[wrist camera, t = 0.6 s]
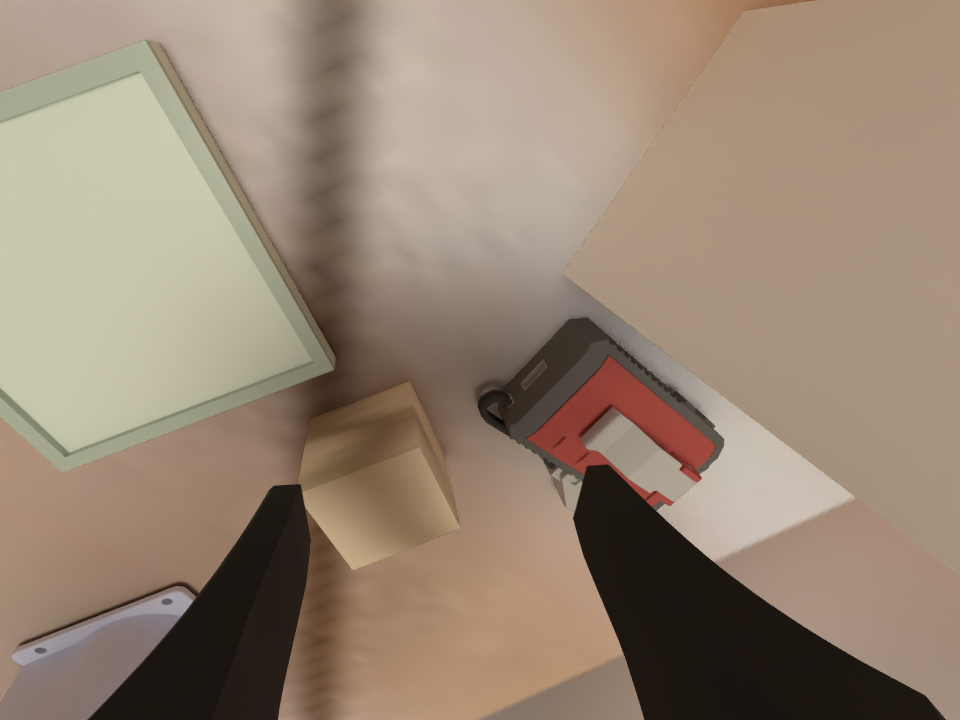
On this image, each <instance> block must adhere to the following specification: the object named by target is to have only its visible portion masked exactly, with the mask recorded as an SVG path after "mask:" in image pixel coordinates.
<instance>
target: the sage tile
mask: <svg viewBox="0 0 960 720" xmlns="http://www.w3.org/2000/svg"><path fill="white" fill-rule="evenodd" d="M335 360H336V357H335V355H334V353H333V352H332V350H331V348H330V346H329V344H328V343H327V341H326V339H325V337H324V336H323V334H322V332H321V330H320V328H319V327H318V325H317V323H316V321H315V320H314V318H313V316H312V314H311V312H310V311H309V309H308V307H307V305H306V303H305V302H304V300H303V298H302V296H301V295H300V293H299V291H298V289H297V287H296V286H295V284H294V282H293V280H292V279H291V277H290V275H289V273H288V271H287V270H286V268H285V266H284V264H283V262H282V261H281V259H280V257H279V255H278V254H277V252H276V250H275V248H274V246H273V245H272V243H271V241H270V239H269V238H268V236H267V234H266V232H265V230H264V229H263V227H262V225H261V223H260V221H259V220H258V218H257V216H256V214H255V213H254V211H253V209H252V207H251V205H250V204H249V202H248V200H247V198H246V197H245V195H244V193H243V191H242V189H241V188H240V186H239V184H238V182H237V181H236V179H235V177H234V175H233V173H232V172H231V170H230V168H229V166H228V164H227V163H226V161H225V159H224V157H223V156H222V154H221V152H220V150H219V148H218V147H217V145H216V143H215V141H214V140H213V138H212V136H211V134H210V132H209V131H208V129H207V127H206V125H205V123H204V122H203V120H202V118H201V116H200V115H199V113H198V111H197V109H196V107H195V106H194V104H193V102H192V100H191V99H190V97H189V95H188V93H187V91H186V90H185V88H184V86H183V84H182V82H181V81H180V79H179V77H178V75H177V74H176V72H175V70H174V68H173V66H172V65H171V63H170V61H169V59H168V58H167V56H166V54H165V52H164V50H163V49H162V47H161V45H160V44H158V43H154V42H151V41H147V40H144V41H141V42H139V43H136V44H133V45H130V46H127V47H125V48H122V49H119V50H116V51H113V52H111V53H108V54H105V55H102V56H99V57H97V58H94V59H91V60H88V61H85V62H83V63H80V64H77V65H74V66H71V67H69V68H66V69H63V70H60V71H57V72H55V73H52V74H49V75H46V76H43V77H41V78H38V79H35V80H32V81H29V82H27V83H24V84H21V85H18V86H15V87H13V88H10V89H7V90H4V91H1V92H0V417H1V418H2V419H3V420H4V421H5V422H6V423H7V424H9V425H10V426H11V427H12V428H13V429H14V430H15V431H16V432H18V433H19V434H20V435H21V436H22V437H23V438H24V439H25V440H26V441H28V442H29V443H30V444H31V445H32V446H33V447H34V448H35V449H36V450H38V451H39V452H40V453H41V454H42V455H43V456H44V457H45V458H46V459H48V460H49V461H50V462H51V463H52V464H53V465H54V466H55V467H56V468H58V469H59V470H60V471H61V472H62V473H63V472H65V471H68V470H71V469H73V468H76V467H79V466H81V465H84V464H87V463H89V462H92V461H94V460H97V459H100V458H102V457H105V456H108V455H110V454H113V453H116V452H118V451H121V450H124V449H126V448H129V447H132V446H134V445H137V444H139V443H142V442H145V441H147V440H150V439H153V438H155V437H158V436H161V435H163V434H166V433H169V432H171V431H174V430H177V429H179V428H182V427H184V426H187V425H190V424H192V423H195V422H198V421H200V420H203V419H206V418H208V417H211V416H214V415H216V414H219V413H222V412H224V411H227V410H229V409H232V408H235V407H237V406H240V405H243V404H245V403H248V402H251V401H253V400H256V399H259V398H261V397H264V396H266V395H269V394H272V393H274V392H277V391H280V390H282V389H285V388H288V387H290V386H293V385H296V384H298V383H301V382H304V381H306V380H309V379H311V378H314V377H317V376H319V375H322V374H325V373H327V372H330V371H333V370H334V368H335Z"/></svg>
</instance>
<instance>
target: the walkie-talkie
mask: <svg viewBox="0 0 960 720" xmlns="http://www.w3.org/2000/svg"><path fill="white" fill-rule="evenodd" d="M495 402H498V408H499V412H500V415H501V417H502V419H503V420H502V419H500V418H498V417H497V416H495V415H494V414H492V413H491V412H489V411H488V410H487V408H488V406H490V405H491V404H493V403H495ZM478 409H479V412H480V414H481V417H482V418H483V419H484V420H485V421H486V422H487V423H488V424H490V425H491V426H493V427H495V428H496V429H498V430H499V431H501V432H503V433H504V434H506V435H508V436H509V437H510V439H514V440H516V441H517V443H518V444H522V445H524V446H525V448H527V449H530V450H532V452H533V453H537V454H538V455H540V457H541V458H543V460H544V463H545V465H546V467H547V469H548V471H549V473H550V475H551V476H552V477H553V478H554V483H555V487H556V489H557V491H558V493H559V495H560V497H561V499H562V501H563V504H564V506H565V507H566V508H567V509H569V510H571V511H573V512H574V513H575V509H576V505H577V501H578V498H579V494H580V490H581V486H582V482H583V479H584V475H585V471H586V467H587V466H591V465H606V464H609V465H610V466H611V467H612V468H613V469H614V470H615V471H616V472H617V473H618V474H619V475H620V476H621V477H622V478H623V479H624V480H625V481H626V482H627V483H628V484H629V485H630V486H631V487H632V488H633V489H634V490H635V491H636V492H637V493H638V494H639V495H640V496H641V497H642V498H643V499H644V500H645V501H646V502H647V503H648V504H649V505H650V506H651V507H652V508H654V509H655V510H656V511H657V510H658V509H659V508H660V507H661V506H662V505H664V504H667V505H669V506H671V505H672V504H673V503H674V502H675V501H676V500H678V499H679V498H680V497H681V496H682V495H683V494H685V493H686V492H687V491H688V490H689V489H691V488H692V487H693V486H694V485H695V484H696V483H698V482H699V481H700V480H701V479H702V478H701V476H700V475H699V474H700V473H701V472H703V471H705V470H707V469H708V467H709V465H710V464H711V463H713V462H714V461H715V460H716V459H717V458H718V456H719V454H720V452H721V451H722V449H723V447H724V439H723V438H722V437H721V436H720V435H719V434H718V433H717V432H716V431H715V430H714V429H713V428H714V427H715V425H714V424H713V423H712V422H711V421H709V420H708V419H707V418H706V417H705V416H704V415H703V414H702V413H701V412H700V411H698V410H697V409H695V408H694V407H693V406H692V405H691V404H690V403H689V402H688V401H687V400H686V399H685V398H684V397H683V396H681V395H680V394H679V393H678V392H677V391H675V392H674V393H673V392H672V391H671V390H670V389H669V388H668V387H666V386H665V385H664V384H663V383H662V382H661V381H660V380H658V379H657V378H656V377H655V376H654V375H653V374H651V373H650V372H649V371H648V370H647V369H646V368H645V367H643V366H642V365H641V364H640V363H639V362H637V361H636V360H635V359H634V358H633V357H631V356H630V355H629V354H628V353H627V352H626V351H625V350H624V349H623V348H622V347H620V346H619V345H618V344H617V343H616V342H615V341H614V340H612V339H611V338H610V337H609V336H608V335H606V334H605V333H604V332H603V331H602V330H601V329H599V328H598V327H597V326H596V325H595V324H594V323H592V322H591V321H590V320H589V319H588V318H579V319H570V320H568V321H567V322H566V324H565V325H564V326H563V327H562V328H561V329H560V330H559V331H558V332H557V333H556V334H555V335H554V336H553V337H552V338H551V339H550V341H549V342H548V343H547V344H546V345H545V346H544V347H543V348H542V349H541V350H540V351H539V352H538V353H537V354H536V355H535V356H534V358H533V359H532V360H531V361H530V362H529V363H528V364H527V365H526V366H525V367H524V368H523V369H522V370H521V371H520V372H519V373H518V374H517V376H516V377H515V378H514V379H513V380H512V381H511V382H510V383H509V384H508V385H507V386H506V387H505V388H504V389H503V390H502V391H500V390H491V391H488V392H487V393H486V394H484V395H483V396H481V397H480V399H479V401H478Z"/></svg>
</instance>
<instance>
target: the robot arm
mask: <svg viewBox="0 0 960 720" xmlns="http://www.w3.org/2000/svg"><path fill="white" fill-rule="evenodd" d="M573 520H574V523H575V527H576V531H577V535H578V538H579V542H580V545H581V549H582V552H583V555H584V558H585V560H586V563H587V565H588V568H589V570H590V573H591V575H592V578H593V580H594V583H595V585H596V587H597V590H598V592H599V595H600V597H601V599H602V602H603V604H604V606H605V609H606V611H607V614H608V616H609V618H610V621H611V623H612V626H613V628H614V630H615V633H616V635H617V637H618V640H619V643H620V645H621V648H622V651H623V653H624V656H625V659H626V661H627V664H628V668H629V671H630V674H631V677H632V681H633V684H634V687H635V690H636V693H637V696H638V700H639V702H640V706H641V710H642V713H643V716H644V720H946V719H945V718H944V717H943V716H942V715H941V713H940V712H939V711H938V710H937V709H936V708H935V706H934V705H933V704H932V703H931V702H930V701H929V699H928V698H927V697H926V696H925V695H923V694H921V693H919V692H918V691H916V690H914V689H912V688H910V687H908V686H906V685H904V684H903V683H901V682H899V681H897V680H895V679H893V678H891V677H889V676H887V675H886V674H884V673H882V672H880V671H878V670H876V669H875V668H873V667H871V666H869V665H867V664H865V663H863V662H861V661H860V660H858V659H856V658H855V657H853V656H851V655H850V654H848V653H846V652H845V651H843V650H841V649H839V648H838V647H836V646H834V645H832V644H831V643H829V642H827V641H826V640H824V639H823V638H821V637H819V636H818V635H816V634H815V633H813V632H811V631H810V630H808V629H807V628H805V627H803V626H802V625H800V624H799V623H797V622H796V621H794V620H793V619H791V618H790V617H788V616H787V615H785V614H784V613H782V612H781V611H779V610H778V609H776V608H775V607H773V606H772V605H770V604H769V603H767V602H766V601H765V600H763V599H762V598H760V597H759V596H758V595H756V594H755V593H753V592H752V591H751V590H749V589H748V588H747V587H745V586H744V585H743V584H741V583H740V582H739V581H737V580H736V579H734V578H733V577H732V576H731V575H729V574H728V573H727V572H725V571H724V570H723V569H722V568H720V567H719V566H718V565H717V564H715V563H714V562H713V561H712V560H711V559H709V558H708V557H707V556H706V555H705V554H703V553H702V552H701V551H700V550H699V549H698V548H696V547H695V546H694V545H693V544H692V543H691V542H689V541H688V540H687V539H686V538H685V537H684V536H683V535H682V534H680V533H679V532H678V531H677V530H676V529H675V528H674V527H673V526H672V525H670V524H669V523H668V522H667V521H666V520H665V519H664V518H663V517H662V516H661V515H660V514H659V513H658V512H657V511H656V510H655V509H654V508H652V507H651V506H650V505H649V504H648V503H647V502H646V501H645V500H644V499H643V498H642V497H641V496H640V495H639V494H638V493H637V492H636V491H635V490H634V489H633V488H632V487H631V486H630V485H629V484H628V483H627V482H626V481H625V480H624V479H623V478H622V477H621V476H620V475H619V474H618V473H617V472H616V471H615V470H614V469H613V468H612V467H611V466H610V465H609V464H606V465H591V466H587V467H586V471H585V475H584V479H583V482H582V486H581V490H580V494H579V498H578V501H577V505H576V509H575V513H574V517H573ZM310 543H311V539H310V533H309V527H308V522H307V516H306V510H305V505H304V499H303V493H302V488H301V484H296V485H280V486H273V487H272V488H271V489H270V490H269V491H268V493H267V495H266V497H265V498H264V500H263V502H262V503H261V505H260V507H259V508H258V510H257V511H256V513H255V515H254V516H253V518H252V519H251V521H250V523H249V524H248V526H247V527H246V529H245V530H244V532H243V533H242V535H241V536H240V538H239V539H238V541H237V542H236V544H235V545H234V546H233V548H232V549H231V551H230V552H229V554H228V555H227V557H226V558H225V559H224V561H223V562H222V564H221V565H220V567H219V568H218V569H217V571H216V572H215V573H214V575H213V576H212V577H211V579H210V580H209V581H208V583H207V584H206V585H205V587H204V588H203V589H202V590H201V592H200V593H199V594H198V596H197V597H196V596H195V595H194V594H192V593H191V592H190V591H189V590H188V589H187V588H185V587H182V586H175V587H172V588H169V589H167V590H164V591H161V592H159V593H156V594H154V595H151V596H148V597H146V598H143V599H141V600H138V601H136V602H133V603H130V604H128V605H125V606H123V607H120V608H117V609H115V610H112V611H110V612H107V613H104V614H102V615H99V616H97V617H94V618H91V619H89V620H86V621H84V622H81V623H79V624H76V625H73V626H71V627H68V628H66V629H63V630H60V631H58V632H55V633H53V634H50V635H47V636H45V637H42V638H40V639H37V640H34V641H32V642H29V643H27V644H24V645H22V646H19V647H17V648H16V649H15V651H14V652H13V654H12V655H11V658H12V660H14V661H15V662H17V663H18V664H20V665H22V666H23V667H22V669H21V670H20V672H19V673H18V675H17V677H16V678H15V680H14V682H13V683H12V685H11V687H10V688H9V690H8V691H7V693H6V695H5V696H4V698H3V700H2V701H1V703H0V720H278V715H279V708H280V702H281V697H282V691H283V686H284V681H285V677H286V672H287V668H288V663H289V659H290V654H291V650H292V645H293V641H294V636H295V632H296V627H297V623H298V618H299V614H300V609H301V605H302V600H303V596H304V591H305V586H306V580H307V571H308V563H309V553H310Z"/></svg>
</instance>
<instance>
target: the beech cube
mask: <svg viewBox="0 0 960 720" xmlns="http://www.w3.org/2000/svg"><path fill="white" fill-rule="evenodd" d="M298 484H301V488H302V493H303V499H304V505H305V508H306V509H307V510H308V512H309V513H310V514H311V515H312V517H313V518H314V519H315V521H316V522H317V523H318V525H319V526H320V527H321V529H322V530H323V531H324V533H325V534H326V535H327V537H328V538H329V539H330V541H331V542H332V543H333V545H334V546H335V547H336V549H337V550H338V551H339V553H340V554H341V555H342V556H343V558H344V559H345V560H346V562H347V563H348V564H349V566H350V567H351V568H352V570H355V569H357V568H360V567H363V566H365V565H368V564H370V563H373V562H375V561H378V560H381V559H383V558H386V557H388V556H391V555H393V554H396V553H399V552H401V551H404V550H406V549H409V548H411V547H414V546H417V545H419V544H422V543H424V542H427V541H429V540H432V539H435V538H437V537H440V536H442V535H445V534H447V533H450V532H453V531H455V530H458V529H460V523H459V518H458V513H457V509H456V504H455V499H454V495H453V490H452V485H451V481H450V476H449V471H448V467H447V462H446V457H445V454H444V452H443V450H442V448H441V446H440V443H439V441H438V439H437V437H436V435H435V433H434V431H433V429H432V427H431V424H430V422H429V420H428V418H427V416H426V414H425V412H424V410H423V408H422V405H421V403H420V401H419V399H418V397H417V395H416V393H415V391H414V389H413V386H412V384H411V382H410V381H409V382H406V383H403V384H401V385H398V386H395V387H393V388H390V389H387V390H385V391H382V392H380V393H377V394H374V395H372V396H369V397H366V398H364V399H361V400H358V401H356V402H353V403H351V404H348V405H345V406H343V407H340V408H337V409H335V410H332V411H329V412H327V413H324V414H322V415H319V416H316V417H314V418H311V419H310V421H309V426H308V432H307V437H306V442H305V448H304V453H303V459H302V464H301V469H300V475H299V480H298Z"/></svg>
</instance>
